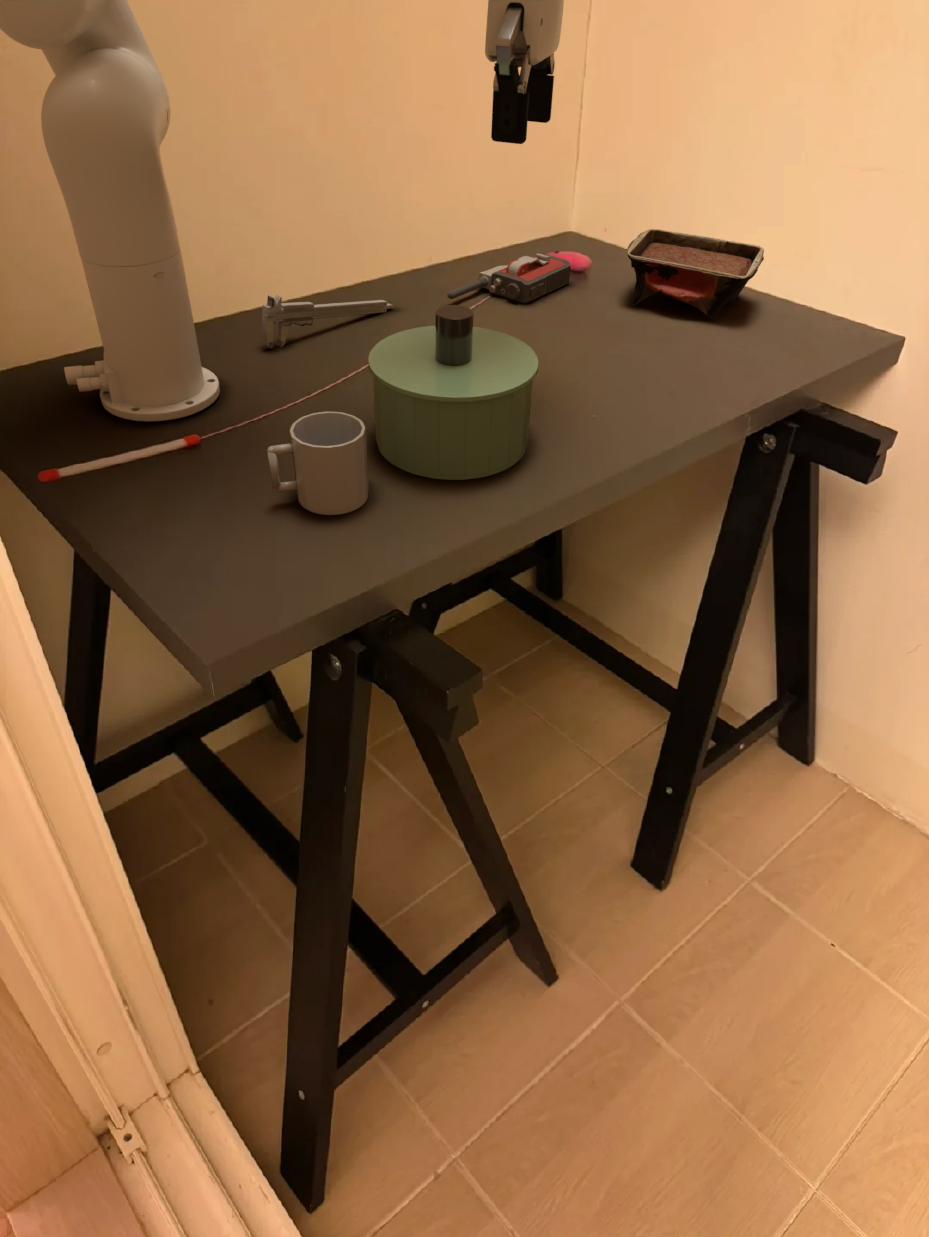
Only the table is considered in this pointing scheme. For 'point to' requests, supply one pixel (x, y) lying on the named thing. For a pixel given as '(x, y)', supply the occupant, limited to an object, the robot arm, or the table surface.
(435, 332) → the pot lid
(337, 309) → the caliper
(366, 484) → the mug
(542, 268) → the walkie-talkie
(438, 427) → the pot
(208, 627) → the table surface
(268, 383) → the table surface
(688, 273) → the baking dish
